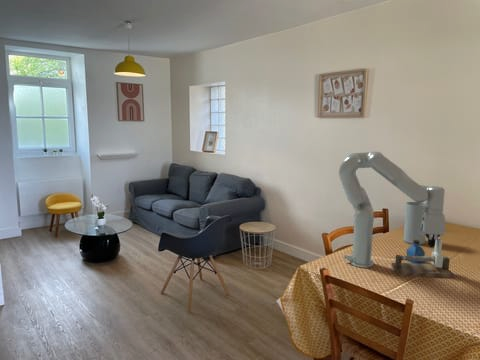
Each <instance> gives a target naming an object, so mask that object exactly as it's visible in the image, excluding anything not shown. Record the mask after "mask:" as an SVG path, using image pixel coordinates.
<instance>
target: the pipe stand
mask: <svg viewBox="0 0 480 360" xmlns="http://www.w3.org/2000/svg"><path fill="white" fill-rule="evenodd" d="M450 259H451V258H449V257H448V256H443V264H442V267H435V266H434V265H433V264H432V263H431V262H435V257H431V256H407V255H400V254H395V260H394V261H395V262H391V265H390V266H391V268H392V269H393V270H394V272H395V273H396V274H397V275H398V276H403V277H405V276H406V277H423V278H424V277H426V278H428V277H429V278H449V279H453V278H454V277H455V274H454V272H452V271H451V270H450V269H449V268H450ZM403 261H405V262H403ZM406 261H407V262H406ZM409 261H424V262H430V263H421V264H416V263H411V262H410V263H408V262H409Z"/></svg>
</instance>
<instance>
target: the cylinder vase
mask: <svg viewBox="0 0 480 360" xmlns="http://www.w3.org/2000/svg"><path fill="white" fill-rule="evenodd" d="M425 207H426V202H422V203H418V202H415V201H407V202H406V203H405V211H404V212H405V215H404V228H403V241H404V243H407V244H411V245H413V242H414V241H413V240H419V241H420V242H419V243H420V245H424V244H425V243H426V236H424V235H421V224H422V219H423V215H424V213H426V212H425V211H423V209H425ZM420 245H419V246H420Z"/></svg>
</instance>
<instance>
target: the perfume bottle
mask: <svg viewBox="0 0 480 360" xmlns="http://www.w3.org/2000/svg"><path fill="white" fill-rule="evenodd" d="M413 241H414V242H413V244H412V245H410V246H409V247H408V248H407V249H406V256H425V253H426V252H425V251H424V250H425V249H423V247H421V246H420V243H419V242H420V241H419V240H413ZM408 262H410V263H416V264H425V261H408Z"/></svg>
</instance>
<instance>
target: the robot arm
mask: <svg viewBox="0 0 480 360" xmlns="http://www.w3.org/2000/svg"><path fill="white" fill-rule="evenodd" d="M339 165H340V166H339V169H338V176H339V179H340V182H341V185H342V188H343V190H344V193H345V195H346V197H347V201H348V203H350V204H351V205H352V207H353V210H354V216H353V218H354V219H353V240H352V253H351V254H349V255H348V254H344V255H343V259H346V261H349V264H350V263H351V264H350V265H351V266H353V267H356V266H357V267H356V268H365V269H366V268H367V269H370V268H372V267H374V265H375V262H374V261H373V260H372V248H373V234H374V233H373V229H374V219H375V214H374V212H375V211H374V208H373V206H372V203H371V201H370V198H369V196H368V194H367V192H366V190H365V187H362V186H361V184H360V181H359V178H358V176H357V174H356V173H357V170H358V169H366V168H368V169H369V168H371V169H372V170H374V171H375V172H376V173H378V174H379V175H380V176H381V177H383V178H384V179H385V180H387V181H388V182H389V183H390V184H391V185H393V186H394V187H396V188H397V189H398V190H399V191H401V192H402V193H403V194H404V195H406V196H407V197H409V199H411V200H412V201H413V202H418V203H426V207H425V209H423V211H425V212H426V213H424V215H423V219H422V224H421V235H424V236H425V238H427V245H428V247H430V248H433V249H434V247H435V241H436V239H437V238H438V237H439V238H440V237H443V236H445V234H446V218H445V214H443V213H444V202H445V201H444V200H445V188H444V187H443V186H437V185H436V186H435V185H433V186H428V185H424V184H423V185H422V184H419V183H417V182H416V181H415V180H414V179H413V178H412V177H410V176H409V175H408V174H407V173H406V172H405V171H404V170H403V169H402V168H401V167H399V166H398V165H397V164H395V163H394V162H393V161H391V160H390V159H389V158H387V157H386V156H385V155H384V154H383V153H382V152H380V151H370V152H365V151H364V152H354V153H349V154H348V155H347V156H346V157H345V158H344V159H343V161H342V162H341V164H339Z"/></svg>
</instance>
